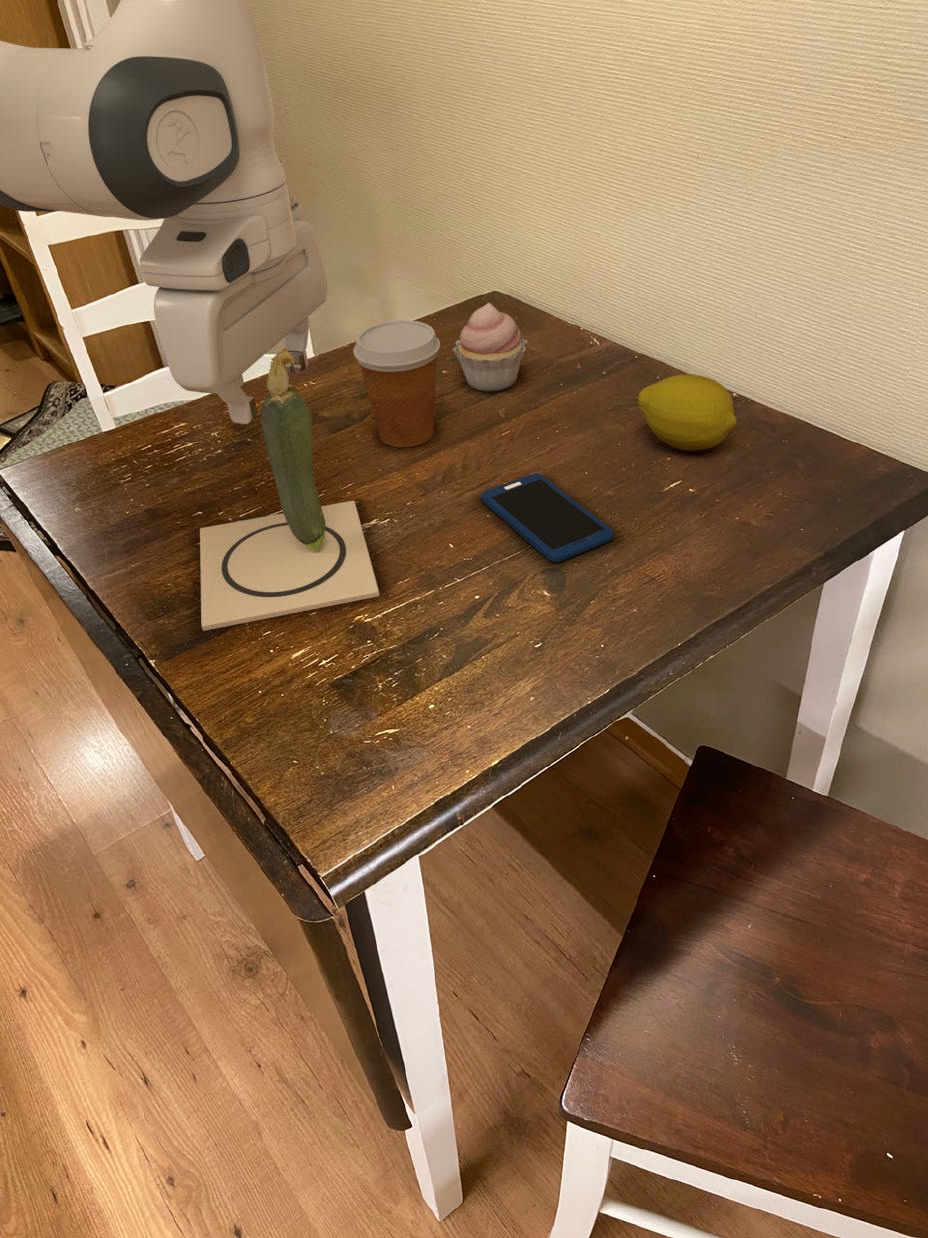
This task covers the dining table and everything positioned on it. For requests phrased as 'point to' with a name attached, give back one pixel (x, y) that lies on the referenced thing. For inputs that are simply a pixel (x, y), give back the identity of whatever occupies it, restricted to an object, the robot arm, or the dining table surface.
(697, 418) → the lemon
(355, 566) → the board
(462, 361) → the cupcake
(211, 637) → the dining table surface
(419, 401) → the disposable coffee cup
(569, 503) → the cell phone
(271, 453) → the vegetable
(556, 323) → the dining table surface
